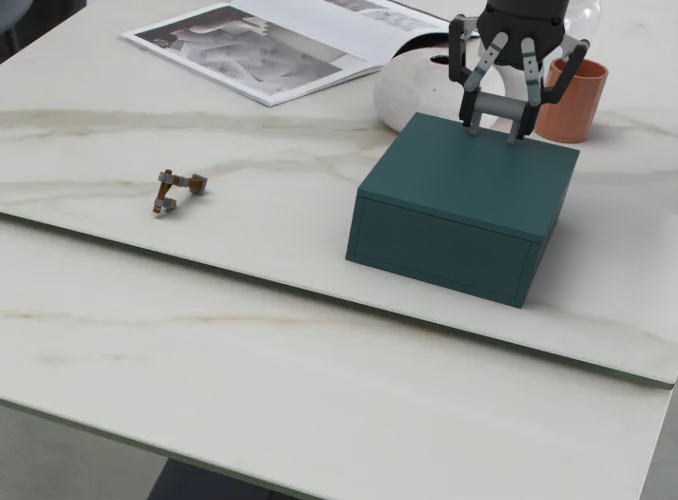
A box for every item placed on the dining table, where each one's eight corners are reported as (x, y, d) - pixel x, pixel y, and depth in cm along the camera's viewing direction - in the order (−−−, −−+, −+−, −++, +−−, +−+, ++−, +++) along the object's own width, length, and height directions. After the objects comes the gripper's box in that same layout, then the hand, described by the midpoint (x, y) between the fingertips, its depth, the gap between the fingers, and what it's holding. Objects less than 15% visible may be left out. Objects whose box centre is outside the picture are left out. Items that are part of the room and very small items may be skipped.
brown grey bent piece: (143, 209, 106) (155, 165, 104) (183, 212, 113) (194, 171, 111) (157, 215, 105) (169, 171, 104) (196, 217, 112) (208, 176, 111)
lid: (414, 118, 113) (424, 71, 109) (578, 157, 108) (594, 108, 104) (356, 195, 98) (365, 143, 95) (541, 244, 94) (558, 191, 90)
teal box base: (400, 180, 117) (412, 121, 112) (557, 220, 112) (576, 160, 107) (344, 259, 103) (355, 196, 98) (521, 308, 98) (541, 244, 94)
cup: (591, 127, 131) (612, 64, 126) (583, 147, 126) (604, 83, 121) (538, 115, 133) (556, 52, 127) (528, 134, 128) (546, 70, 123)
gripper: (623, -40, 97) (568, 133, 108) (473, -68, 101) (436, 103, 112) (611, -19, 92) (555, 161, 103) (454, -49, 95) (417, 128, 107)
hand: (493, 130), depth 108 cm, fingers closed on lid, 5 cm apart
